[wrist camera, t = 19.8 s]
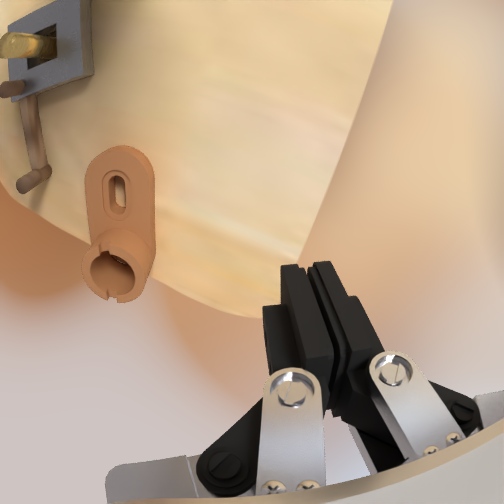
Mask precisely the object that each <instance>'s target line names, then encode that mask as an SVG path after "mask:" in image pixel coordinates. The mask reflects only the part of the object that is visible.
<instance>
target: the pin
mask: <svg viewBox="0 0 504 504" xmlns="http://www.w3.org/2000/svg"><path fill="white" fill-rule="evenodd" d="M57 56H58V55H57V38H55V37H49V36H42V35H34V34H26V33H16V32H8V33H6V34H4V35H3V36H2V37H1V39H0V58H50V59H52V58H55V57H57Z"/></svg>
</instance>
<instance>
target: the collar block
mask: <svg viewBox="0 0 504 504" xmlns="http://www.w3.org/2000/svg"><path fill="white" fill-rule="evenodd" d="M55 31H57V55H58V57H57V58H55V59H52V60H50V61H48V62H45V63H43V64H40V58H8V67H9V81H13V80H22V81H23V82H24V85H25V87H24V91H23V92H22V94H20V95H18V96H13V97H11V101H12V102H17V101H19V100H20V99H22V98H24V97H27V96H33V95H37V94H40V93H42V92H45V91H47V90H50V89H53V88H55V87H58V86H61V85H64V84H66V83H69V82H72V81H75V80H78V79H81V78H85V77H88V76H91V75H94V67H93V55H92V39H91V0H57V1H55V2H53V3H51V4H48V5H46V6H44V7H42V8H40V9H38V10H36V11H34V12H32V13H30V14H28V15H26V16H24V17H23V18H21V19H19V20H17V21H15V22H14V23H12V24H10V25H8V32H16V33H26V34H34V35H42V36H45V35H48V34H50V33H52V32H55Z"/></svg>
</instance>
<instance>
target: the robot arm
mask: <svg viewBox="0 0 504 504" xmlns="http://www.w3.org/2000/svg"><path fill="white" fill-rule="evenodd" d="M263 327H264V338H265V347H266V353H267V361H268V368H269V375H270V377H269V378H268V380H267V381H266V382H265V386H264V391H263V397H262V398H261V399H260V400H259V401H258V402H257V403H256V404H255V405H254V406H253V407H252V408H251V409H250V410H249V411H248V412H247V413H246V414H245V415H244V416H243V417H242V418H241V419H240V420H238V421H237V422H236V423H235V424H234V425H233V426H232V427H231V428H230V429H229V430H228V431H226V432H225V433H224V434H223V435H222V436H221V437H220V438H219V439H218V440H216V441H215V442H214V443H213V444H212V445H211V446H210V447H209V448H207V449H206V450H205V451H204V452H203V453H202V454H201V455H196V456H192V457H186V455H184V456H179V457H173V458H167V459H161V460H154V461H147V462H139V463H131V464H122V465H119V466H115V467H114V468H113V469H112V470H110V471H109V473H108V475H107V476H106V481H105V488H106V496H107V503H108V504H504V390H503V391H498V392H493V393H488V394H483V395H477V396H475V397H474V398H473V399H471V398H469V397H467V396H465V395H463V394H460V393H458V392H455V391H453V390H450V389H448V388H445V387H443V386H441V385H438V384H436V383H433V382H431V381H429V380H427V379H426V377H425V376H424V375H423V373H422V372H421V371H420V369H419V368H418V366H417V365H416V363H415V362H414V361H413V360H412V359H411V358H410V357H409V356H407V355H406V354H404V353H401V352H398V351H386V352H385V350H384V348H383V346H382V344H381V342H380V340H379V338H378V336H377V334H376V332H375V330H374V328H373V326H372V324H371V322H370V320H369V318H368V316H367V314H366V312H365V310H364V308H363V306H362V304H361V303H360V301H359V299H358V298H357V296H348V295H347V293H346V291H345V289H344V287H343V285H342V283H341V281H340V279H339V277H338V275H337V273H336V271H335V269H334V267H333V265H332V263H331V262H330V261H322V262H314V263H313V267H308V270H307V274H306V271H305V269H304V268H299V267H298V264H291V265H281V304H280V305H270V306H263ZM329 409H331V411H332V415H333V417H338V416H341V419H342V421H344V422H346V423H348V426H349V430H350V432H351V434H352V436H353V438H354V440H355V443H356V445H357V447H358V449H359V451H360V453H361V455H362V457H363V459H364V461H365V463H366V466H367V468H368V470H369V472H370V474H371V475H370V476H366V477H362V478H359V479H354V480H350V481H346V482H342V483H338V484H333V485H328V486H326V474H325V473H326V472H325V449H324V448H325V447H324V428H323V418H324V415H325V411H326V410H329Z"/></svg>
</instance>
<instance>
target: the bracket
mask: <svg viewBox="0 0 504 504" xmlns="http://www.w3.org/2000/svg"><path fill="white" fill-rule="evenodd" d="M115 175H117V176H120V177H122V178H123V179H124V181H125V193H126V207H121V206H119V205H118V204H117V202H116V197H115ZM85 192H86V203H87V213H88V221H89V229H90V237H91V244H92V245H91V247H90V248H89V250H88V251H87V253H86V254H85V256H84V257H83V260H82V265H81V270H82V275H83V278H84V280H85V282H86V283H87V285H88V286H89V288H90V289H91V290H92V291H93V292H94V293H95V294H97V295H98V296H100V297H101V298H103V299H105V300H108V298H109V296H110V297H113V298H117V302H118V303H125V302H129V301H132V300H134V299H136V298H137V297H138V296H139V295H140V294H141V293H142V291H143V289H144V286H145V283H146V280H147V278H148V275H149V272H150V269H151V266H152V264H153V261H154V258H155V254H156V241H155V178H154V171H153V168H152V165H151V163H150V161H149V160H148V158H147V157H146V156H145V155H144V154H143V153H142V152H140V151H139V150H137V149H135V148H133V147H129V146H116V147H112V148H110V149H108V150H106V151H105V152H103V153H101V154H100V155H98V156H97V157H96V158H95V159H94V160H93V161H92V162H91V163H90V165H89V167H88V169H87V171H86V175H85ZM108 250H109V251H108ZM109 252H110V253H109ZM110 254H112V255H115V256H118V257H120V258H122V259H123V260H125V261H126V262H127V263H128V264H129V265H130V266H129V265H125V264H123V263H121V262H119V261H117V260H115V259H114V258H113V257H112V256H111V255H110Z"/></svg>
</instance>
